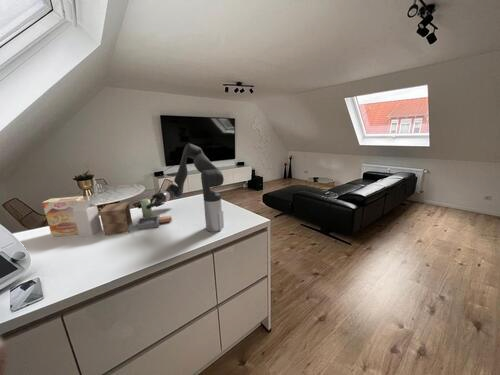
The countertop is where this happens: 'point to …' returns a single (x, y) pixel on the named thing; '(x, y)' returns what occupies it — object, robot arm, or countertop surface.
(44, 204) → the coffeecake box
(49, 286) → the countertop surface
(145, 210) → the jar
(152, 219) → the tray
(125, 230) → the cabinet
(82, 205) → the milk carton
